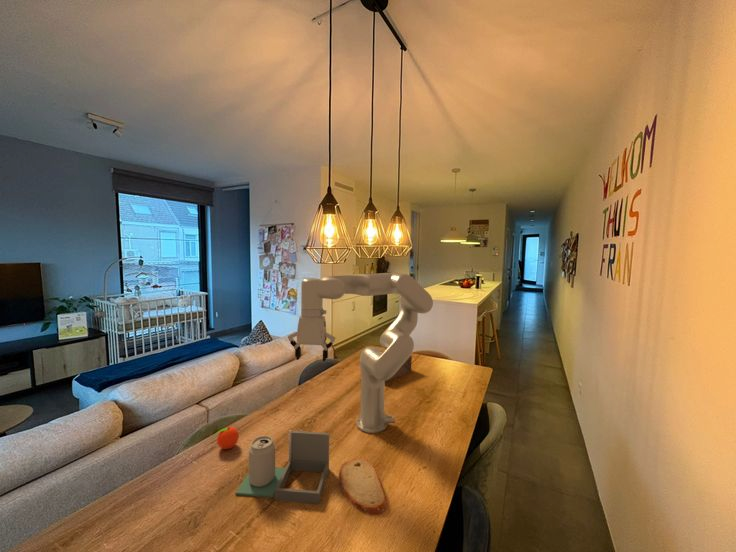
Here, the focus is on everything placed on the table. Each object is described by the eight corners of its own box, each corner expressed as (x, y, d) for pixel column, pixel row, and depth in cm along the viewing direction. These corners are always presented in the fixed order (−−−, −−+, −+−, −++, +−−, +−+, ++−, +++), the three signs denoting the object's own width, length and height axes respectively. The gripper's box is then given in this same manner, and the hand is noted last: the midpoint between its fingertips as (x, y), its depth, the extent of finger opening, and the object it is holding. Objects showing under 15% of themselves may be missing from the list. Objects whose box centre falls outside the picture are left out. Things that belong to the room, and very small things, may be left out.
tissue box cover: (393, 365, 188) (393, 349, 188) (411, 372, 178) (411, 355, 177) (362, 376, 171) (362, 358, 170) (380, 384, 160) (380, 366, 160)
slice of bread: (383, 520, 79) (383, 507, 79) (322, 499, 86) (322, 487, 85) (400, 474, 96) (400, 463, 96) (348, 459, 102) (348, 448, 102)
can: (280, 473, 94) (280, 436, 93) (264, 491, 87) (264, 451, 86) (259, 467, 96) (259, 431, 95) (243, 484, 89) (242, 446, 88)
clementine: (213, 456, 102) (212, 436, 101) (214, 444, 108) (214, 425, 107) (239, 450, 105) (238, 431, 104) (238, 439, 111) (238, 420, 111)
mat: (286, 469, 96) (286, 468, 96) (273, 497, 85) (273, 495, 85) (253, 467, 97) (253, 465, 97) (235, 494, 86) (235, 492, 86)
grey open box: (328, 468, 97) (329, 430, 96) (319, 503, 84) (319, 459, 83) (290, 465, 98) (290, 427, 97) (274, 500, 84) (274, 455, 83)
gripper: (337, 311, 112) (336, 356, 113) (291, 310, 113) (291, 354, 114) (333, 316, 104) (333, 364, 106) (284, 314, 106) (284, 361, 107)
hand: (311, 359), depth 110 cm, fingers open, 9 cm apart
